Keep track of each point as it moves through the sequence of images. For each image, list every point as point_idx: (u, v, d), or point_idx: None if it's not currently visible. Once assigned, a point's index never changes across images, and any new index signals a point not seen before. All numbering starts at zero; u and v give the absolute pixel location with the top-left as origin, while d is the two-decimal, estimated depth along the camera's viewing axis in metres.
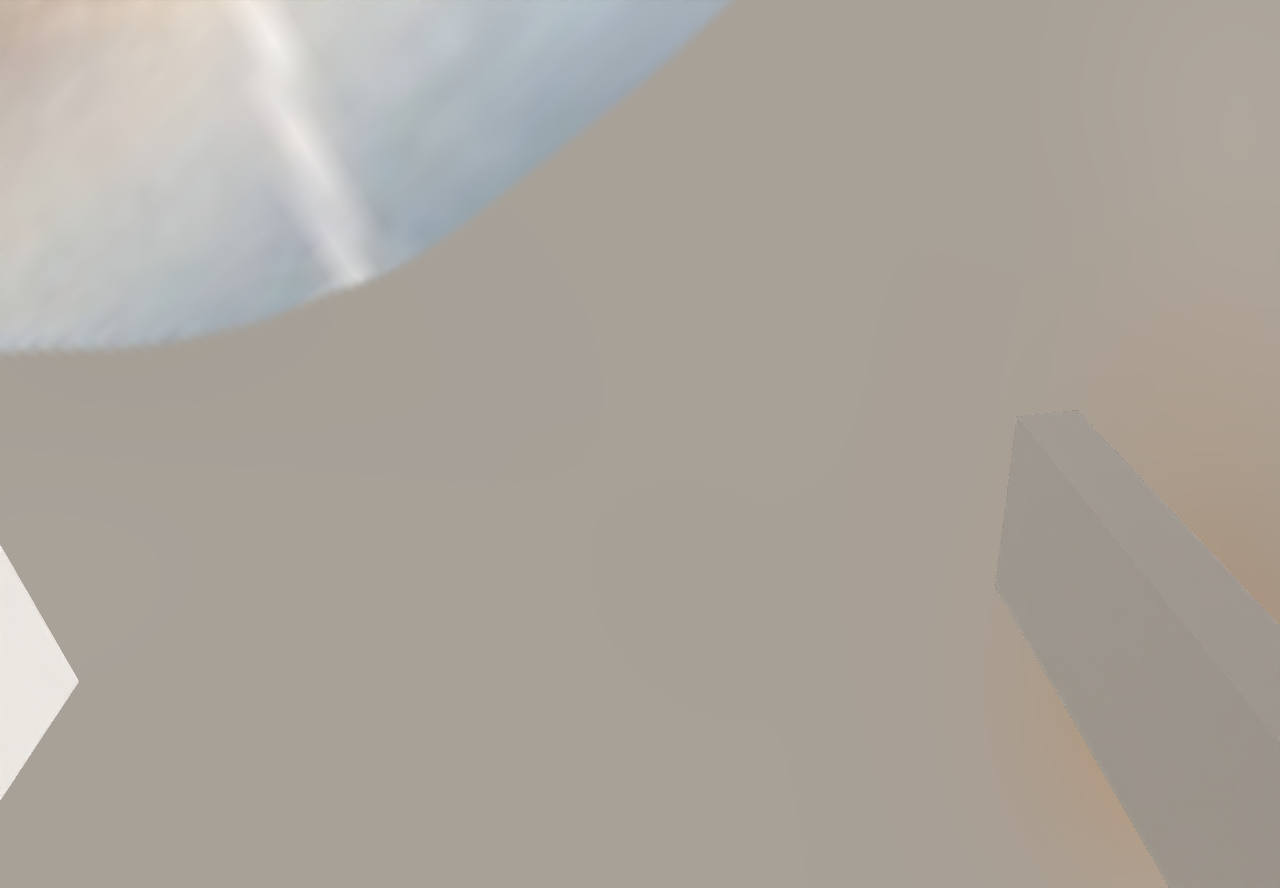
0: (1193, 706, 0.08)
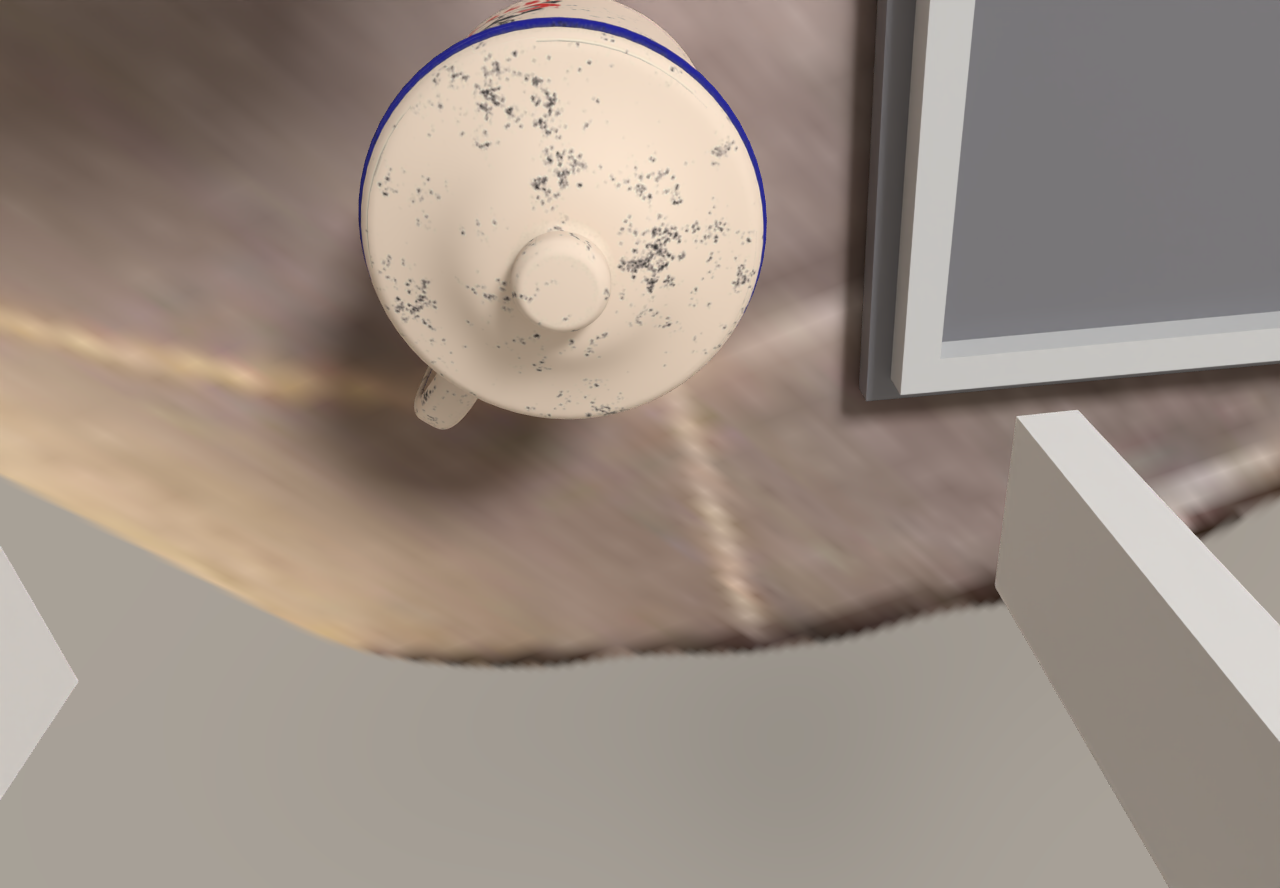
0: (1193, 706, 0.08)
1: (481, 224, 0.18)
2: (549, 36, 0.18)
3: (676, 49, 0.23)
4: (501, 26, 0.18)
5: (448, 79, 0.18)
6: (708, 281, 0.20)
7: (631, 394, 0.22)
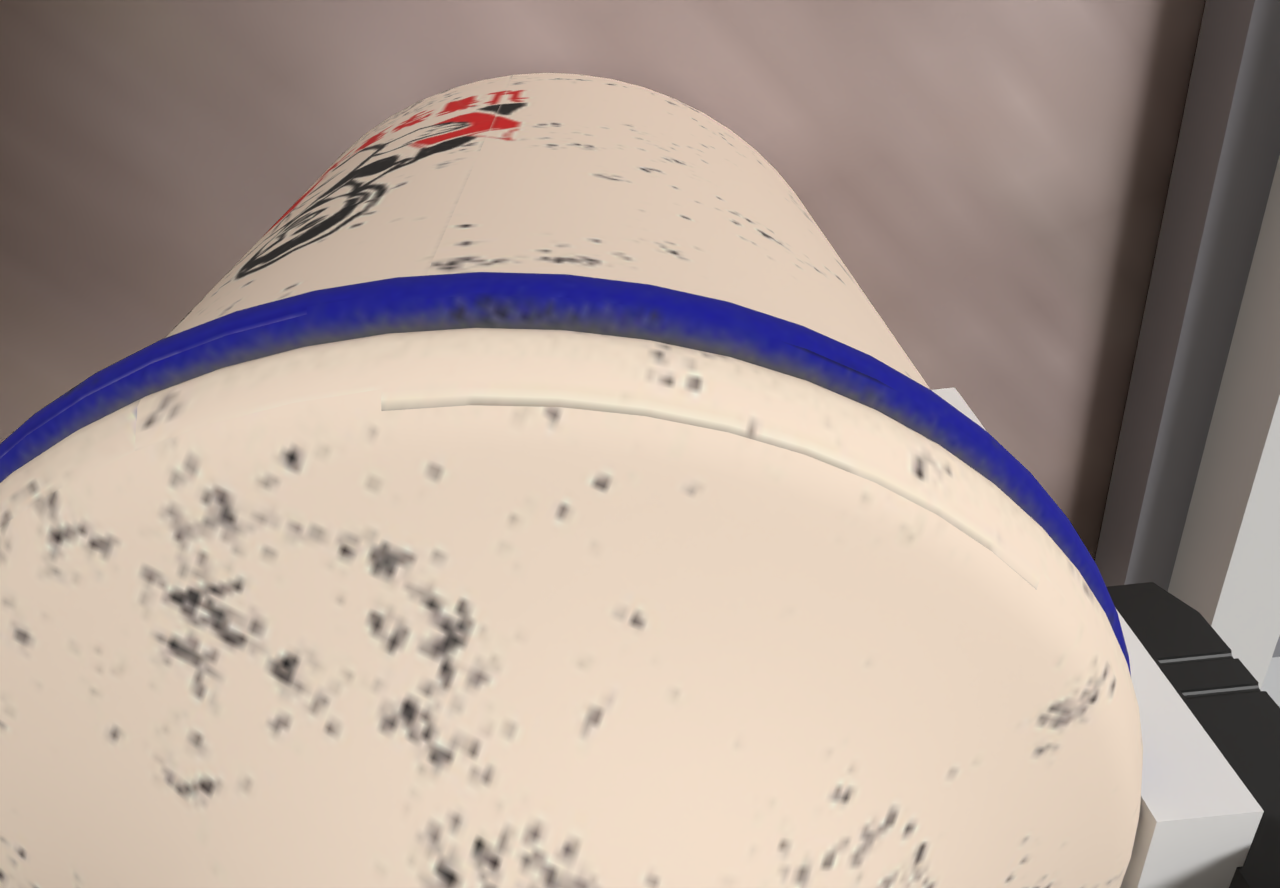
0: None
1: None
2: (437, 381, 0.04)
3: (799, 215, 0.10)
4: (259, 318, 0.05)
5: (40, 545, 0.05)
6: None
7: None
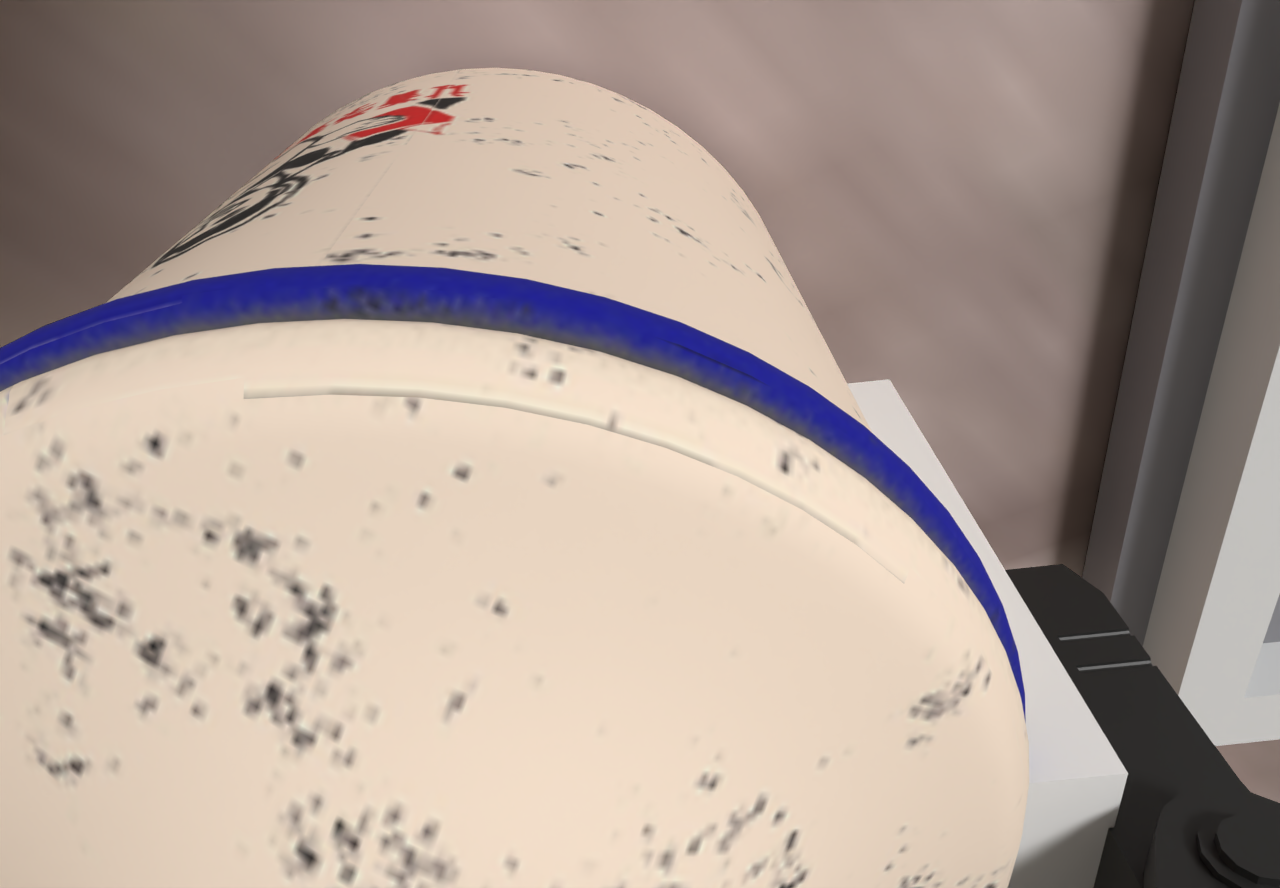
0: None
1: None
2: (300, 370, 0.04)
3: (734, 213, 0.10)
4: (135, 306, 0.05)
5: None
6: None
7: None
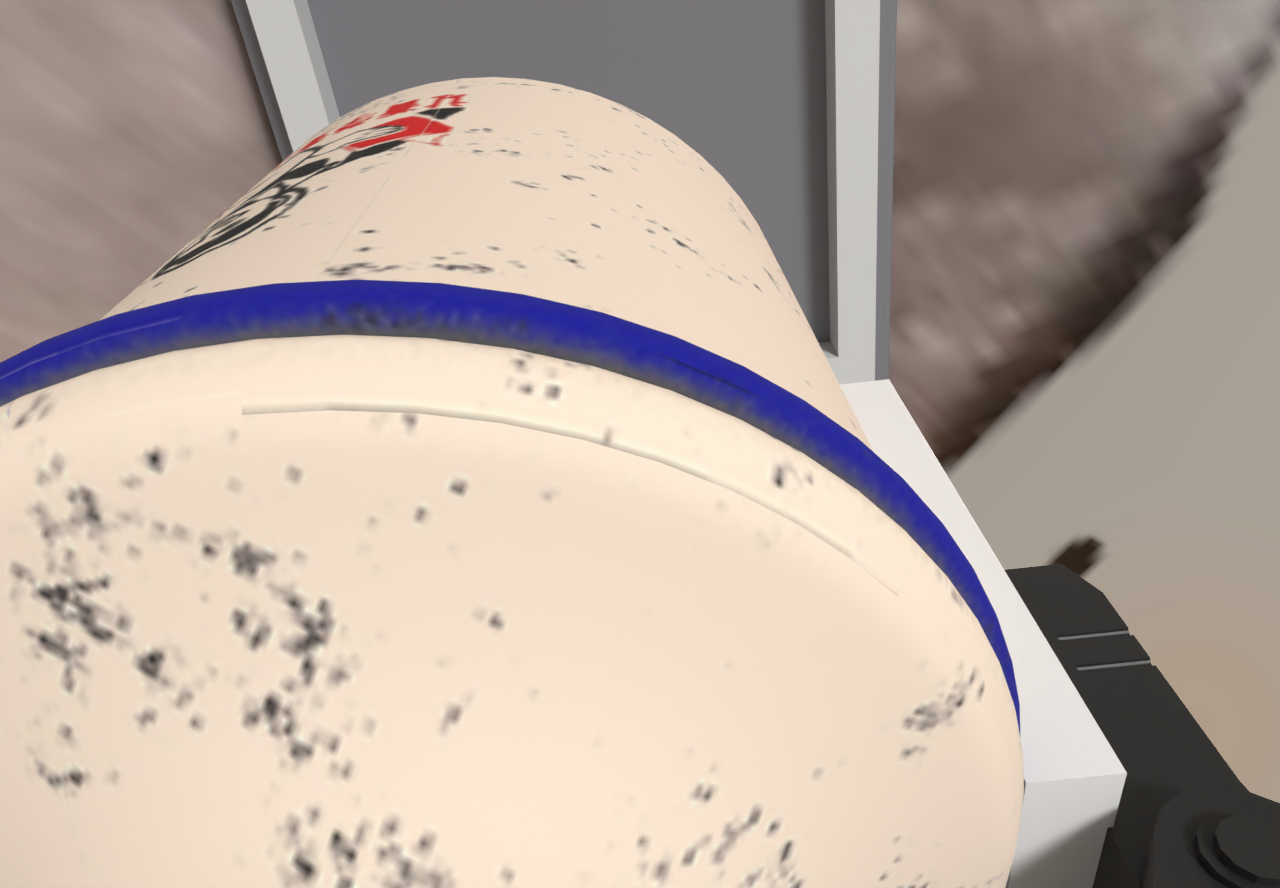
0: None
1: None
2: (298, 386, 0.04)
3: (732, 223, 0.10)
4: (135, 322, 0.05)
5: None
6: None
7: None
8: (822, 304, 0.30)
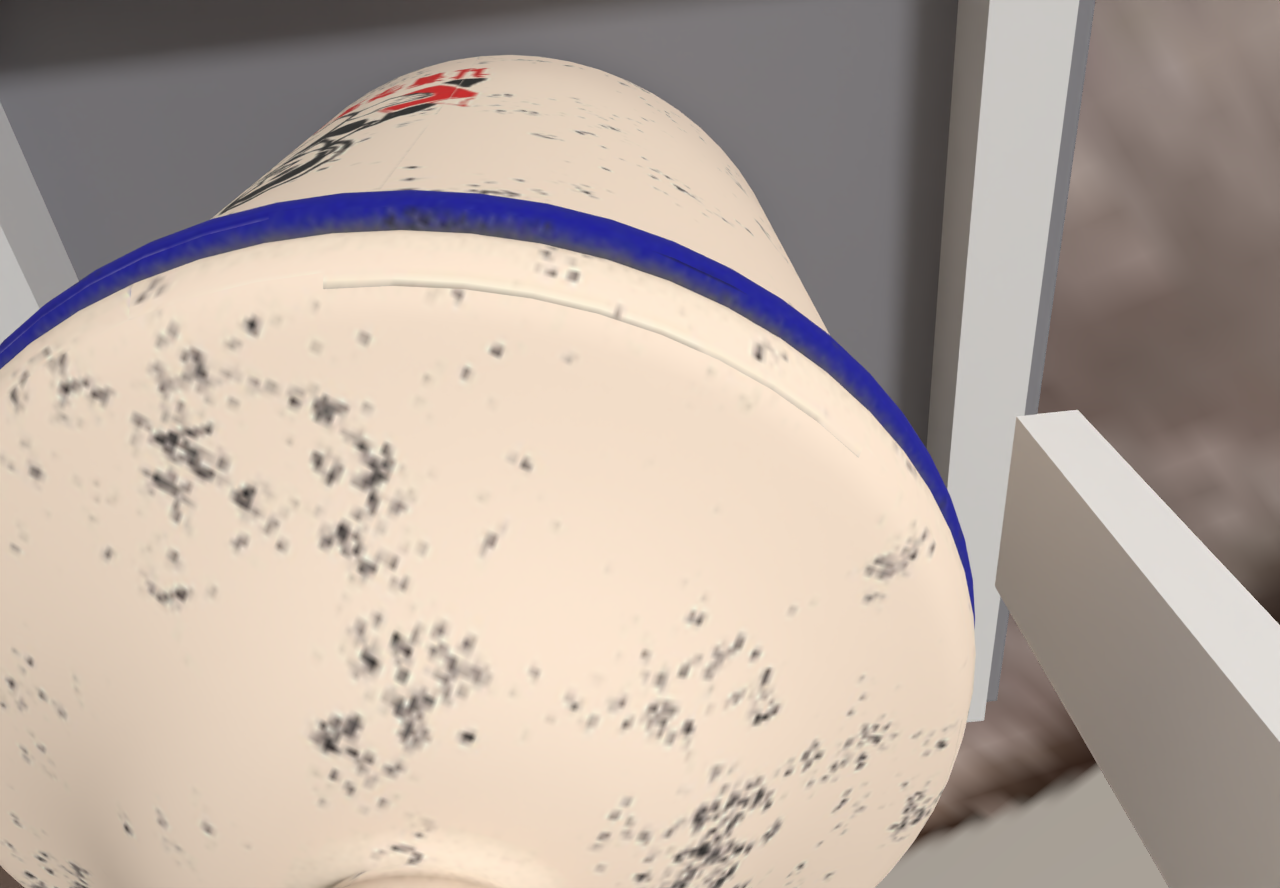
0: (1193, 706, 0.08)
1: (172, 827, 0.06)
2: (367, 267, 0.06)
3: (728, 182, 0.11)
4: (230, 222, 0.06)
5: (52, 396, 0.06)
6: (833, 842, 0.08)
7: None
8: None
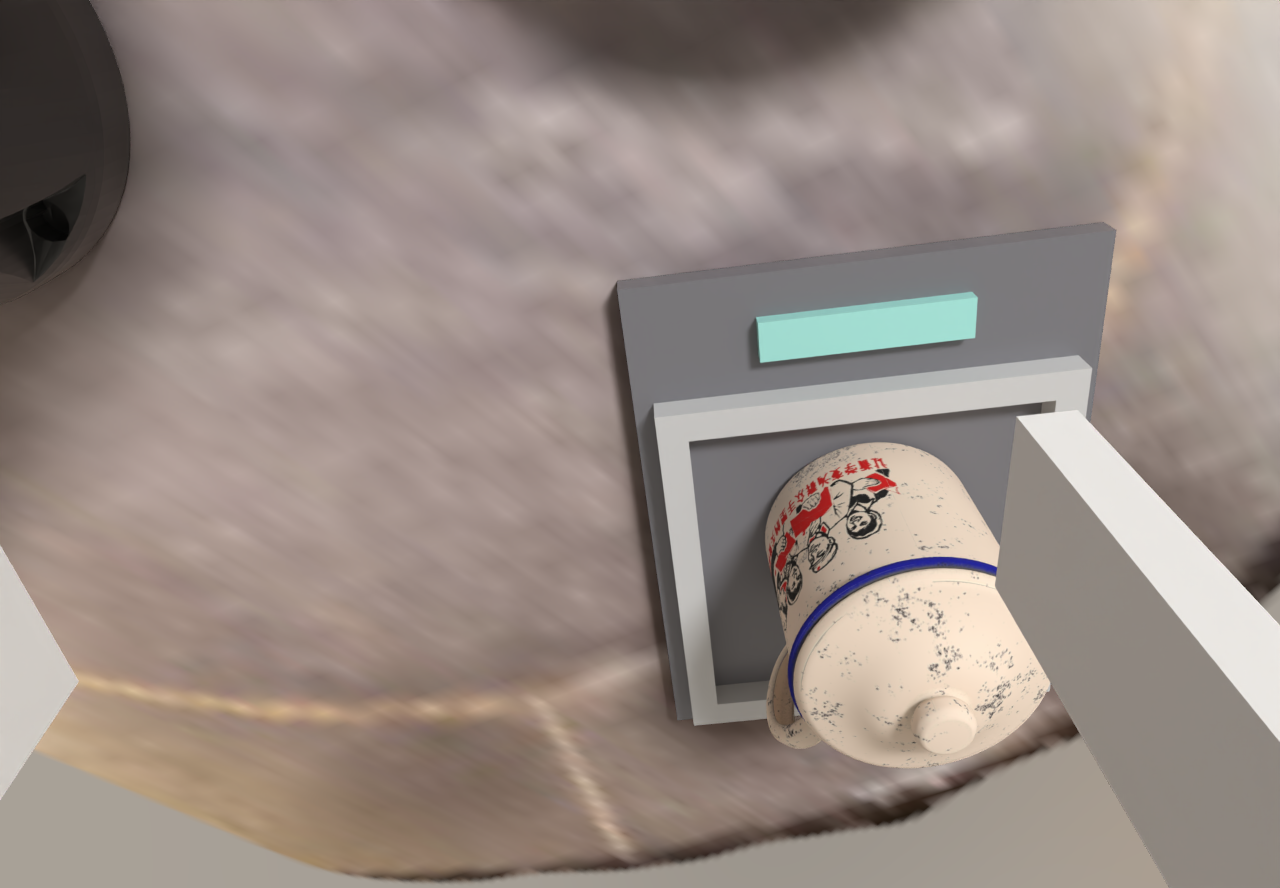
0: (1193, 706, 0.08)
1: (892, 687, 0.29)
2: (939, 577, 0.29)
3: (969, 503, 0.34)
4: (905, 564, 0.29)
5: (874, 601, 0.29)
6: (1020, 701, 0.31)
7: (955, 757, 0.32)
8: None
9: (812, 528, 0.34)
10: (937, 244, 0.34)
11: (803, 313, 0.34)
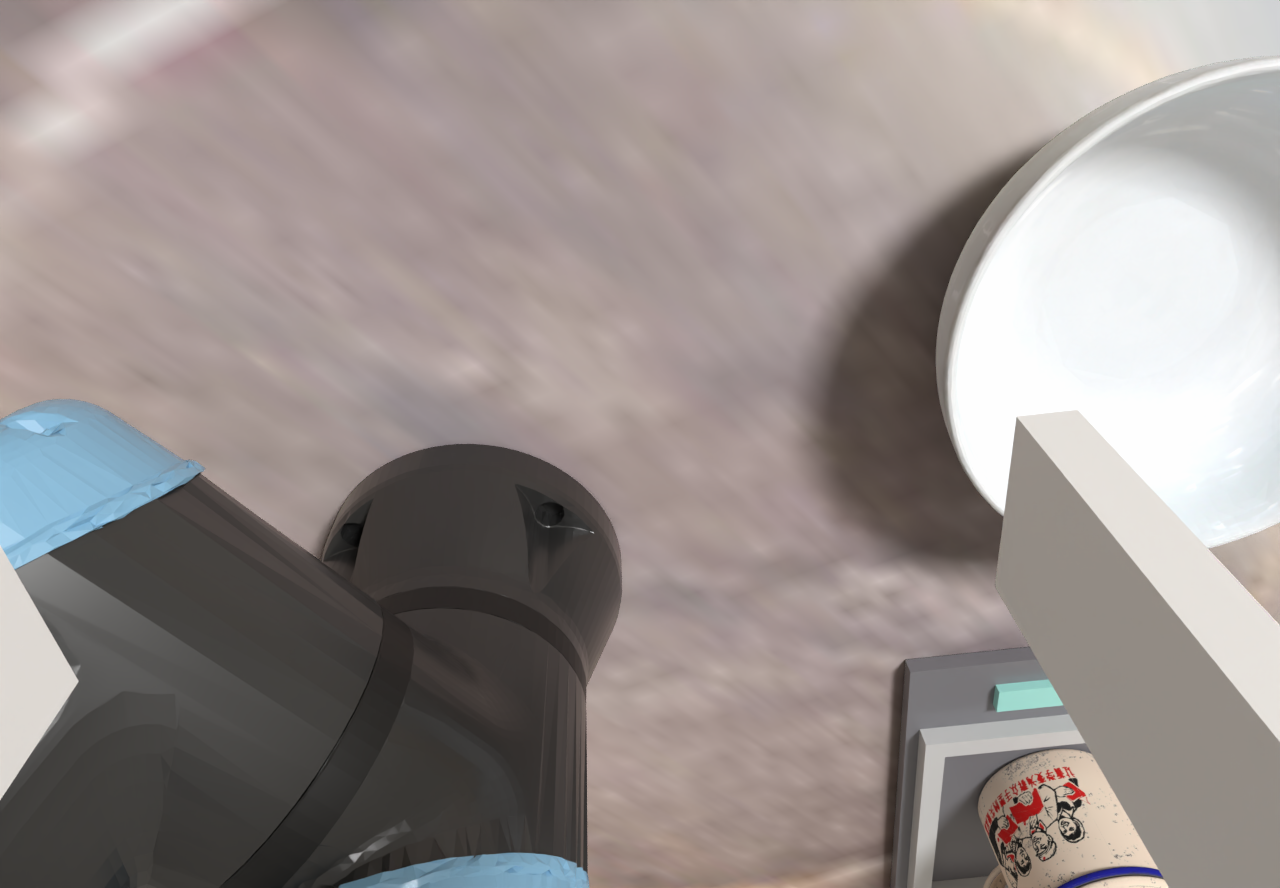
0: (1193, 706, 0.08)
1: None
2: (1132, 883, 0.48)
3: None
4: (1110, 873, 0.48)
5: None
6: None
7: None
8: None
9: (1031, 822, 0.53)
10: None
11: (1027, 684, 0.53)
